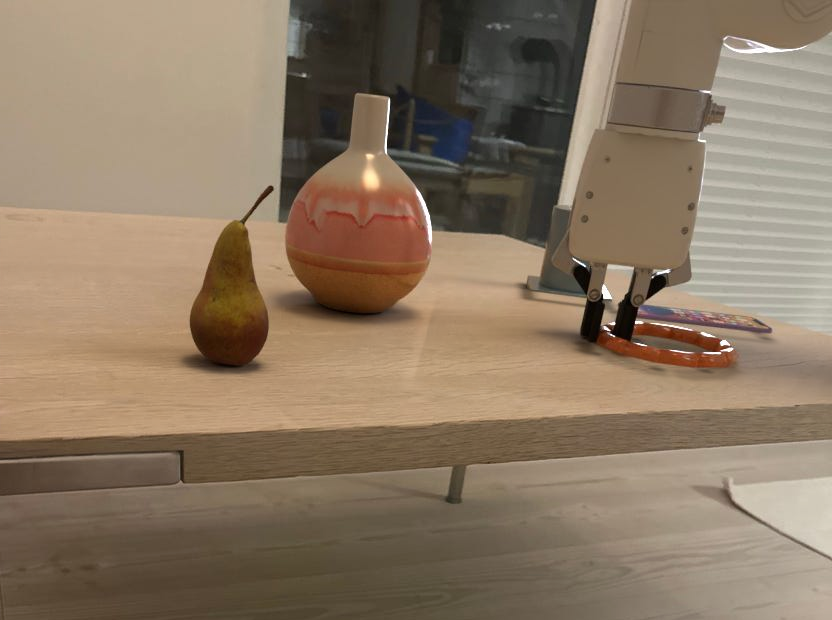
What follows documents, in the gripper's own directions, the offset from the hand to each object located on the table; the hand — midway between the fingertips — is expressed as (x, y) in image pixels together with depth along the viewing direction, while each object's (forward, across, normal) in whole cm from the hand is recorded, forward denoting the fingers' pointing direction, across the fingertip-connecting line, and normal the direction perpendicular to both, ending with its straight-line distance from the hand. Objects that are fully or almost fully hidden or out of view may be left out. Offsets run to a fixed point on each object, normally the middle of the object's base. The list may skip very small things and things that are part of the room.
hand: (602, 345), depth 84 cm
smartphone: (0, -11, -17) cm, 20 cm away
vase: (0, +24, -4) cm, 24 cm away
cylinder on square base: (0, +2, -25) cm, 25 cm away
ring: (-1, -5, 0) cm, 5 cm away
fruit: (0, +30, +21) cm, 36 cm away
